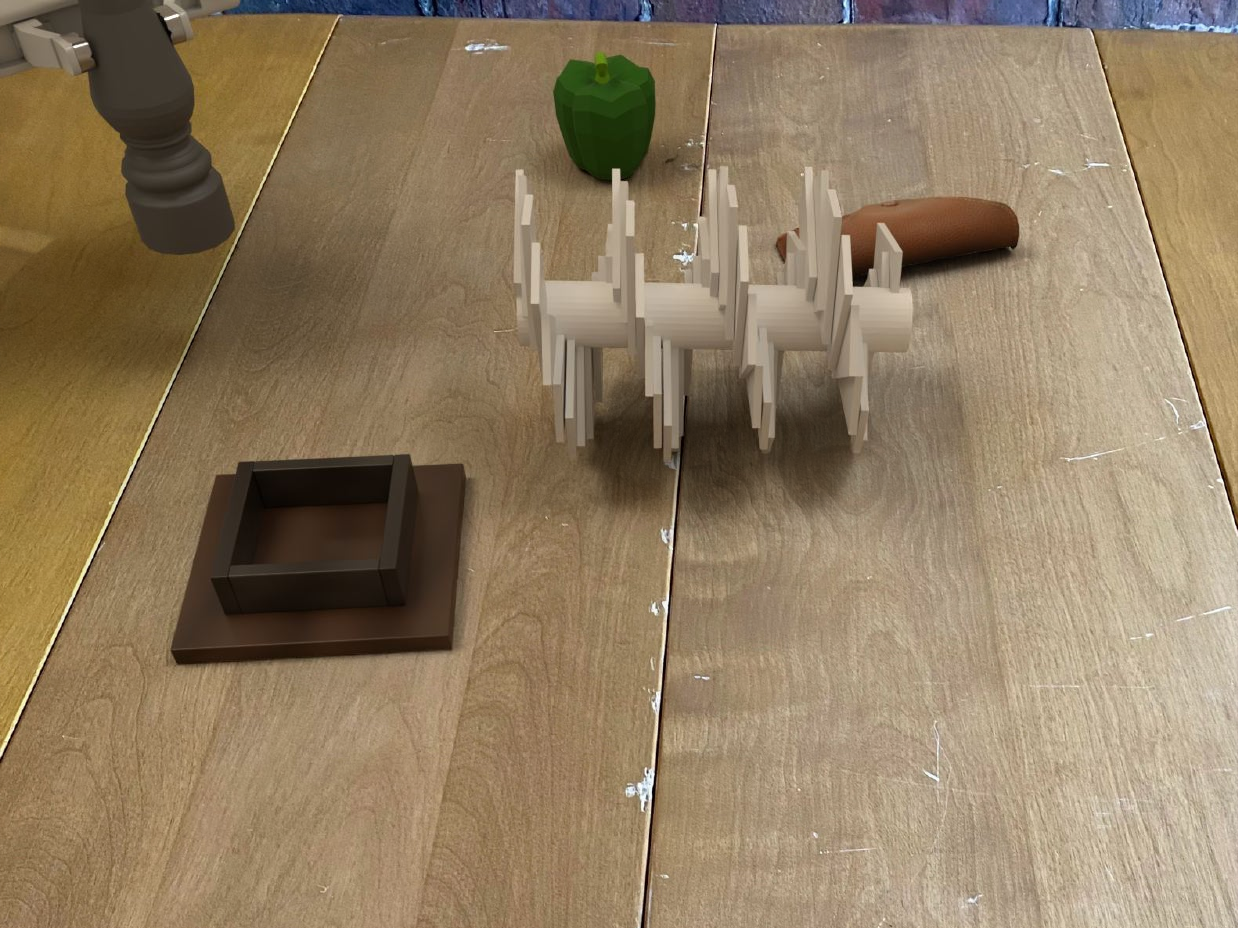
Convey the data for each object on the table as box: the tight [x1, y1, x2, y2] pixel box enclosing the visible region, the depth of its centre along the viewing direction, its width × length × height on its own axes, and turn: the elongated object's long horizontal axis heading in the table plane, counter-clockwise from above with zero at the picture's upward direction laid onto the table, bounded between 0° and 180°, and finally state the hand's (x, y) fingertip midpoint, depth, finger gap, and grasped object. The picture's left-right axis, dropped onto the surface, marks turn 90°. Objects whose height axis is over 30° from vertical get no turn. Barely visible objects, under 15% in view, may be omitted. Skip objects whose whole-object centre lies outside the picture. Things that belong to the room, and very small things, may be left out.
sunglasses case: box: [775, 195, 1020, 280], centre depth 109 cm, size 18×7×7 cm
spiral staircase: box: [513, 165, 914, 463], centre depth 89 cm, size 18×18×25 cm
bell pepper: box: [552, 51, 657, 181], centre depth 115 cm, size 8×8×10 cm
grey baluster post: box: [78, 0, 236, 256], centre depth 85 cm, size 6×6×25 cm
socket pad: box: [169, 453, 467, 665], centre depth 86 cm, size 16×16×4 cm
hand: (132, 44), depth 84 cm, fingers closed on grey baluster post, 5 cm apart
